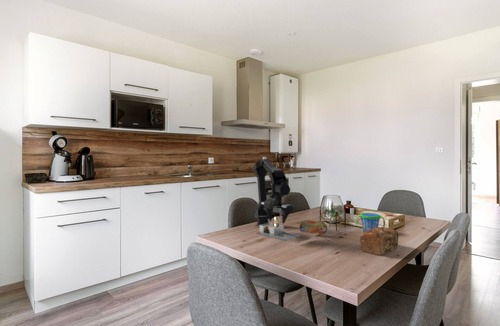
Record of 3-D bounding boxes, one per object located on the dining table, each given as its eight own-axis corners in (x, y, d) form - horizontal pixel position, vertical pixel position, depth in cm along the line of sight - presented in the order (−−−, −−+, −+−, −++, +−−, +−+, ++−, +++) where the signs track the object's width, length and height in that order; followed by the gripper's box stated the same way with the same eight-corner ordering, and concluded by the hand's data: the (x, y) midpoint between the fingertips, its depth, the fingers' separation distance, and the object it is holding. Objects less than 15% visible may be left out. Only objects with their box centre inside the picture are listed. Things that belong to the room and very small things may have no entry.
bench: (255, 235, 156) (255, 225, 156) (272, 231, 165) (272, 221, 165) (284, 243, 141) (284, 232, 141) (301, 238, 151) (301, 228, 151)
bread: (381, 257, 124) (381, 234, 123) (358, 250, 132) (358, 229, 131) (399, 248, 136) (399, 227, 136) (377, 243, 144) (377, 223, 144)
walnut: (267, 232, 157) (267, 227, 157) (271, 231, 159) (271, 226, 159) (271, 233, 154) (271, 228, 154) (276, 232, 157) (276, 227, 157)
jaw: (269, 234, 152) (269, 217, 152) (279, 231, 158) (279, 215, 158) (273, 235, 150) (274, 218, 150) (283, 232, 156) (283, 216, 156)
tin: (299, 234, 159) (299, 219, 159) (301, 232, 162) (301, 218, 162) (326, 237, 152) (326, 222, 152) (327, 236, 155) (327, 221, 155)
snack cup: (355, 233, 162) (355, 215, 161) (355, 228, 172) (355, 211, 171) (386, 235, 156) (386, 217, 156) (384, 231, 166) (384, 213, 166)
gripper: (254, 192, 155) (254, 221, 155) (280, 196, 141) (280, 227, 142) (267, 191, 162) (267, 218, 163) (294, 194, 149) (294, 224, 149)
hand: (276, 222), depth 154 cm, fingers open, 9 cm apart
